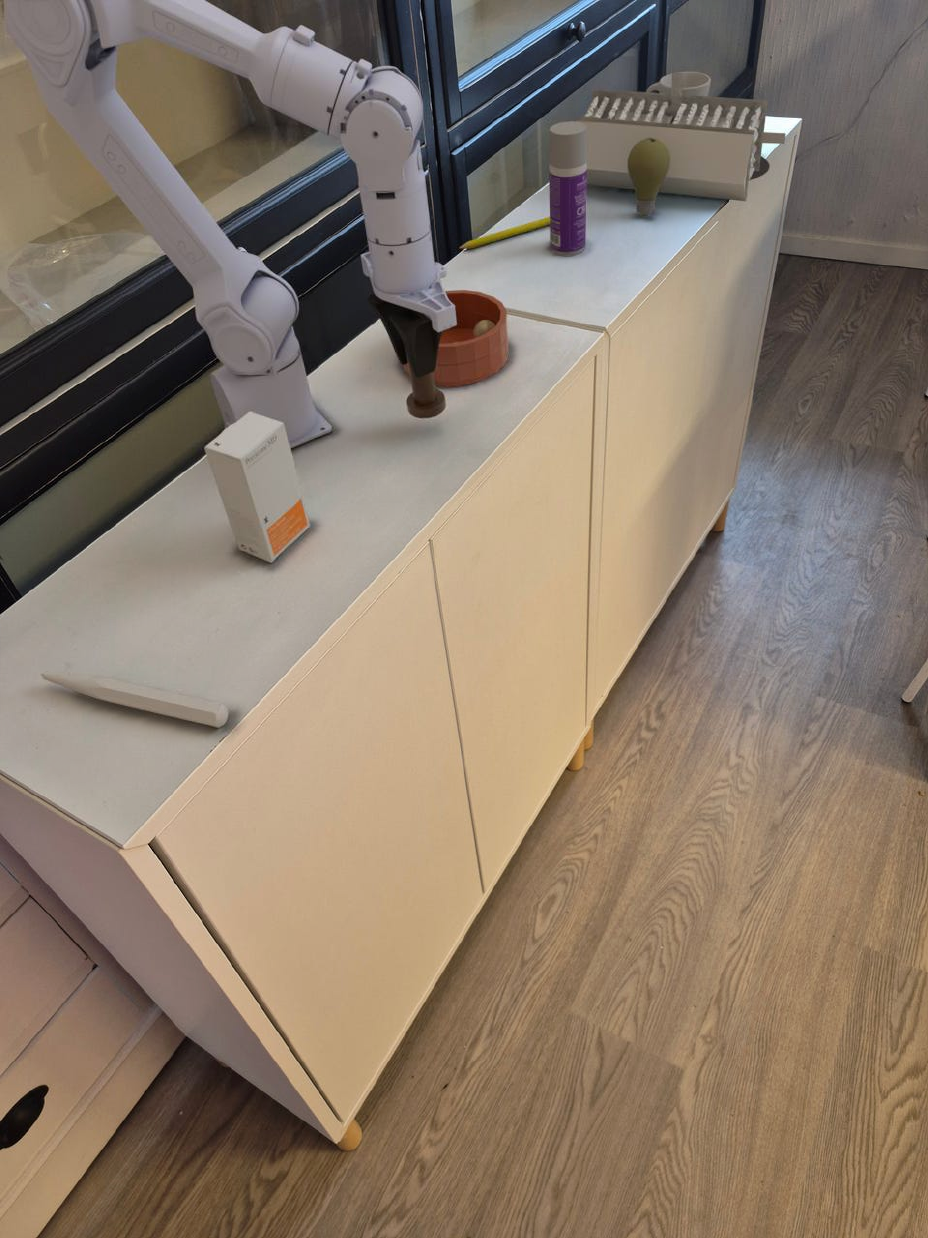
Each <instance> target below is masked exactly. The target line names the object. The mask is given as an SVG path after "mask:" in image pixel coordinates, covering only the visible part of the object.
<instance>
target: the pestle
mask: <svg viewBox="0 0 928 1238" xmlns="http://www.w3.org/2000/svg"><path fill="white" fill-rule="evenodd" d="M405 351H406V349H405ZM406 357H407V363H408V369H409V375H410V376H409V375H408V376H409V379H410V386H411V391H412V392H411V393H409V394H408V396H407V397H406V402H405V403H406V409H407V412H408V413H409V415H411V416H412V417H414V418H417V419H431V418H434V417H436V416H439V415H440V414H442V413H443V412H444V410H446V409H445V408H446V405H447V403H446V397H445V394H444V392H443V391H442V390H441V389H438V388H436V387H437V386H435V381H434V374H433V372H432V373H429V374H427V375H424V376H422V377H419V378H417V377H416V376H415V375H414V373H413V371H412V369H411V367H410V363H409V360H408V356H407V352H406Z"/></svg>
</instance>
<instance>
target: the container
mask: <svg viewBox="0 0 928 1238" xmlns="http://www.w3.org/2000/svg"><path fill="white" fill-rule="evenodd" d="M548 162H549V166H548V167H549V169H548V174H549V179H548V180H549V217H550V225H549V243H550V245H549V247H550V252H551V253H553V254H554V255H557V256H561V257H570V256H571V257H572V256H577V255H579V254H581V253H583V252H584V251H585V250H586V236H587V235H586V231H587V229H586V228H587V227H586V225H587V184H586V181H587V151H586V125H585V124H583V123H581V122H577V121H575V120H574V121H573V120H567V121H561V122H557V123H555V124H553V125H551V126H550V128H549V161H548Z"/></svg>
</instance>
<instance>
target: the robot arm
mask: <svg viewBox="0 0 928 1238" xmlns="http://www.w3.org/2000/svg"><path fill="white" fill-rule="evenodd" d="M3 7H4V8H3V11H4V12H3V28H4V31H5V32H6V34H7V35H8V36H9V37H10V39H11V40H12V41H13V42H14V44H15V45H16V46H17V47H18V48H19V50H20V51H21V52H22V53H23V55H24V56H25V58H26V61H27V64H28V67H29V69H30V71H31V74H32V76H33V79H34V82H35V84H36V86H37V89H38V92H39V94H40V96H41V99H42V101H43V104H44V105H45V107H46V108H47V110H48V111H49V113H50V114H51V116H52V117H53V118H54V120H55V121H56V122H57V123H58V124H59V126H60V127H61V128H62V129H63V130H64V132H65V133H66V134H67V135H68V137H69V138H70V139H71V140H72V141H73V143H74V144H75V145H76V147H77V148H78V149H79V150H80V151H81V152H82V154H83V155H84V156H85V157H86V159H87V160H88V161H89V162H90V163H91V165H92V166H93V167H94V168H95V170H96V171H97V172H98V173H99V174H100V176H101V177H102V178H103V179H104V181H105V182H106V183H107V185H109V187H110V188H111V189H112V190H113V191H114V193H115V195H117V197H118V198H119V199H120V200H121V201H122V203H123V204H124V205H125V206H126V208H127V209H128V210H129V212H130V213H132V215H133V216H134V217H135V219H136V220H137V221H138V222H139V223H140V225H141V226H142V227H143V229H144V230H146V232H147V234H149V236H150V237H151V238H152V239H153V241H154V242H155V243H156V244H157V245H158V247H159V248H160V249H161V251H163V253H164V254H165V256H166V257H168V259H169V261H170V262H171V263H172V264H173V265H174V266H175V267H176V268H177V270H178V271H179V272H180V274H181V275H182V276H183V277H184V278H185V280H186V282H188V283H189V285H190V286H191V287H192V292H193V302H194V310H195V317H196V321H197V323H199V325H200V327H202V329H203V330H204V331H205V333H206V334H207V336H208V339H209V342H210V345H211V348H212V351H213V353H214V355H215V356H216V357H217V359H218V360H219V361H220V362H221V363H222V364H223V365H222V366H220V367H219V368H217V369H215V370H214V371H212V372H210V374H209V378H210V383H211V387H212V390H213V393H214V396H215V399H216V402H217V405H218V408H219V411H220V414H221V417H222V420H223V423H224V430H225V429H226V428H228V427H229V426H230V425H231V424H233V423H235V422H237V421H238V420H239V419H241V418H242V417H243V416H244V415H246V414H247V413H248V412H253V413H256V414H259V415H262V416H265V417H268V418H270V419H274V420H277V421H279V422H283V423H284V426H285V430H286V434H287V438H288V442H289V445H290V449H292V448H295V447H298V446H300V445H303V444H304V443H307V442H309V441H311V440H315V439H316V438H319V437H322V436H323V435H327V434H329V433H330V432H332V431H333V428H332V425H331V424H330V423H329V422H328V421H327V420H326V419H325V418H324V417H323V416H322V415H321V414H320V412H319V411H318V410H317V409H316V408H315V405H314V401H313V397H312V392H311V388H310V384H309V380H308V376H307V372H306V367H305V364H304V360H303V355H302V351H301V347H300V343H299V340H298V338H297V336H296V334H295V331H294V326H293V323H294V322H295V321H296V320H297V318H298V315H299V311H300V304H299V299H298V296H297V293H296V292H295V290H294V288H293V287H292V286H291V285H290V284H289V282H288V281H287V280H285V279H284V278H283V277H281V276H279V275H278V274H276V273H275V272H273V271H271V269H269V268H268V266H266V265H265V264H264V262H263V260H262V259H261V258H260V257H259V256H258V255H255V254H253V253H251V252H245V251H242V250H239V249H237V248H236V247H235V245H234V244H233V243H232V241H231V240H230V239H229V237H228V236H227V235H226V233H225V232H224V231H223V229H222V228H221V227H220V226H219V225H218V222H216V220H215V219H214V218H213V217H212V215H211V214H210V212H209V211H208V210H207V209H206V207H205V206H204V204H203V203H202V202H201V200H200V199H199V198H198V196H196V194H195V193H194V192H193V190H192V189H191V188H190V185H188V184H187V181H186V180H184V177H182V176H181V174H180V173H179V172H178V170H177V169H176V168H175V166H174V165H173V164H172V163H171V161H170V159H168V157H167V156H166V155H165V153H164V152H163V150H161V148H160V147H159V146H158V144H157V143H156V142H155V140H154V139H153V138H152V136H151V135H150V134H149V132H148V131H147V130H146V129H145V127H144V126H143V125H142V124H141V122H140V121H139V119H138V118H137V117H136V115H135V114H134V113H133V111H132V110H131V109H130V107H129V106H128V104H126V102H125V101H124V100H123V98H122V97H121V95H120V94H119V93H118V91H117V89H116V77H117V59H118V46H120V45H124V44H127V43H128V44H129V43H132V42H136V41H140V40H143V39H153V40H156V41H158V42H160V43H163V44H166V45H167V46H169V47H172V48H175V49H176V50H178V51H181V52H184V53H187V54H188V55H191V56H193V57H196V58H198V59H200V60H203V61H205V62H207V63H210V64H212V65H214V66H217V67H219V68H222V69H224V70H226V71H228V72H231V73H232V74H233V73H234V74H235V75H238V76H240V77H243V78H245V79H247V80H249V81H250V83H251V86H252V88H253V89H254V91H255V93H256V95H257V97H258V99H259V101H260V102H261V103H262V104H263V105H265V106H266V107H269V108H271V109H273V110H275V111H277V112H279V113H281V114H283V115H285V116H287V117H288V118H289V117H290V118H291V119H293V120H296V121H298V122H300V123H302V124H304V125H306V126H308V127H310V128H312V129H314V130H315V131H318V132H320V133H322V134H324V135H326V136H329V137H330V138H332V139H335V140H337V141H338V140H339V141H340V142H341V145H342V147H343V149H344V151H345V153H346V155H347V156H348V158H350V159H351V161H352V162H353V163H355V167H356V172H357V179H358V183H357V184H358V189H359V190H358V192H359V196H360V202H361V208H362V215H363V220H364V227H365V232H366V239H367V245H368V251H367V252H365V253H362V254H360V261H361V266H362V272H363V275H365V276H366V277H367V278H369V280H370V283H371V286H372V290H373V293H372V294H370V295H368V296H367V303H368V305H369V306H370V307H371V308H372V309H373V311H374V313H375V314H376V315H377V317H378V318H379V320H380V321H381V323H382V325H383V328H384V329H385V331H386V333H387V336H388V338H389V340H390V341H389V342H391V345H392V348H393V350H394V353H395V356H396V357H397V360H398V362H399V363H400V364H401V366H403V365H405V364H407V357H406V352H407V356H408V360H409V363H410V367H411V369H412V371H413V373H414V375H415V376H416V377H417V378H419V377H422V376H424V375H427V374H429V373H432V372H434V371H435V367H436V361H437V354H438V347H439V342H440V338H441V335H442V332H443V330H446V329H448V328H451V327H453V326H455V325H457V321H456V311H455V305H454V304H453V303H451V302H450V300H449V299H448V297H447V295H446V293H445V291H446V290H445V288H444V286H443V283H442V280H441V279H444V278H445V277H447V276H448V275H447V274H448V273H447V272H448V271H447V268H446V267H445V266H444V265H442V264H441V263H439V262H436V261H435V254H434V246H433V237H432V226H431V218H430V209H429V201H428V199H429V198H428V192H427V191H428V190H427V183H426V182H427V181H426V174H425V171H424V167H423V156H422V151H421V141H420V140H419V139H416V137H417V135H418V133H419V130H420V128H421V126H422V124H423V123H422V122H423V117H424V102H423V97H422V95H421V93H420V90H419V88H418V87H417V85H416V84H415V82H414V81H413V80H412V79H411V78H410V77H409V76H407V75H406V74H404V73H403V72H401V71H400V70H399V68H397V67H396V66H393V65H392V66H391V65H381V66H377V67H375V68H373V64H372V63H371V62H369V61H368V60H365V59H364V58H360V59H359V61H358V62H357V61H356V60H352V59H351V58H349V57H347V56H345V55H343V54H341V53H339V52H337V51H335V50H333V49H331V48H329V47H327V46H326V45H323V44H321V43H320V42H317V41H316V40H315V38H316V37H315V35H316V32H315V31H314V30H312V29H310V28H308V27H306V26H304V25H302V24H300V25H299V26H298V27H297V28H296V29H295V30H294V29H292V28H290V27H288V26H281V27H279V28H276V29H274V30H273V31H271V32H267V33H263V32H261V31H259V30H257V29H255V28H254V27H252V26H251V25H249V24H247V23H245V22H243V21H241V20H240V19H238V18H236V17H235V16H233V15H231V14H230V13H227V12H226V11H224V10H223V9H221V8H219V7H217V6H215V5H213V4H212V3H210V2H208V1H206V0H3ZM405 349H406V351H405Z"/></svg>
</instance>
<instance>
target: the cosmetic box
mask: <svg viewBox="0 0 928 1238" xmlns="http://www.w3.org/2000/svg"><path fill="white" fill-rule="evenodd" d="M203 449H204V452H205V455H206V459H207V461H208V464H209V467H210V469H211V470H210V471H211V472H212V476H213V479H214V481H215V484H216V487H217V490H218V493H219V496H220V498H221V501H222V505H223V507H224V510H225V513H226V516H227V518H228V522H229V524H230V525H229V526H230V527H231V530H232V534H233V535H234V536H233V537H234V539H235V542H236V545H237V548H238V549H239V550H240V551H241V552H243V553H246V554H249V555H251V556H253V557H256V558H258V559H261V560H263V561H264V562H268V563H271V564H272V563H273V562H274V561H275V560H276V559H277V558H278V557H279V556H280V555H281V554H282V553H283V552H285V551H286V549H288V548H289V546H291V545H292V544H293V543H294V542H295V541H296V540H297V539H298V538H299V537H300V536H302V535H303V534H304V533H305V532H306V531H307V530H308V529H309V528H310V527H311V523H310V520H309V515H308V512H307V511H308V510H307V507H306V504H305V500H304V496H303V491H302V487H301V485H300V484H301V483H300V481H299V477H298V473H297V468H296V465H295V462H294V458H293V454H292V450H291V449H292V448H290V445H289V442H288V438H287V434H286V430H285V426H284V423H283V422H279V421H277V420H274V419H270V418H268V417H265V416H262V415H259V414H256V413H253V412H248V413H247V414H246V415H244V416H243V417H242V418H241V419H239V420H238V421H237V422H235V423H233V424H231V425H230V426H229V427H228V428H226V429H225V428H224V430H222V432H221V433H220V434H219V435H217V436H216V437H215V438H214V439H212V440H211V441H210V442H208V444H206V445H205V446H204V447H203Z"/></svg>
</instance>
